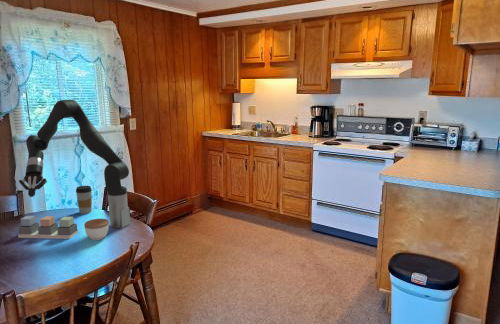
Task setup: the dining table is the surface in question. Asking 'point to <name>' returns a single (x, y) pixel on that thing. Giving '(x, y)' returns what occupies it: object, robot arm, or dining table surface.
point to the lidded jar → (96, 228)
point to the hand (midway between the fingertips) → (31, 196)
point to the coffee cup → (84, 199)
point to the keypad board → (47, 231)
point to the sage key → (66, 221)
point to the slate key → (28, 220)
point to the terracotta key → (47, 221)
